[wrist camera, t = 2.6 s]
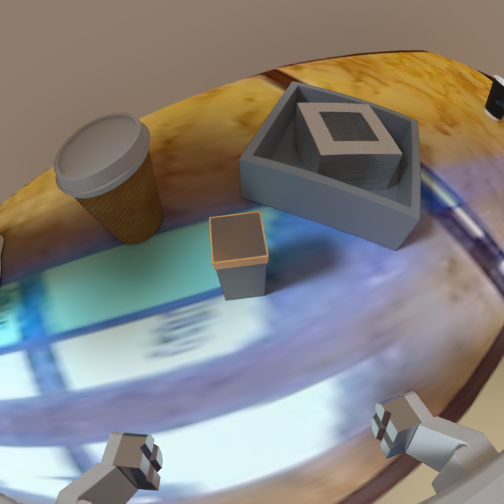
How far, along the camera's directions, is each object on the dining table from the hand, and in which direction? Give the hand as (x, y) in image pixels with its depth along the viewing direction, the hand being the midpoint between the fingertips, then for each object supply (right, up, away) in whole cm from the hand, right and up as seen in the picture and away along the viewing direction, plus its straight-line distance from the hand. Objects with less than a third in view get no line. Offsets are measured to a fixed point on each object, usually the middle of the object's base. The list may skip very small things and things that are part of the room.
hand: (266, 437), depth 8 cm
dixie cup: (+60, +41, +38) cm, 82 cm away
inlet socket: (+10, +17, +26) cm, 32 cm away
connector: (-1, +4, +19) cm, 19 cm away
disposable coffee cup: (-14, +10, +23) cm, 28 cm away
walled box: (+10, +17, +26) cm, 32 cm away
